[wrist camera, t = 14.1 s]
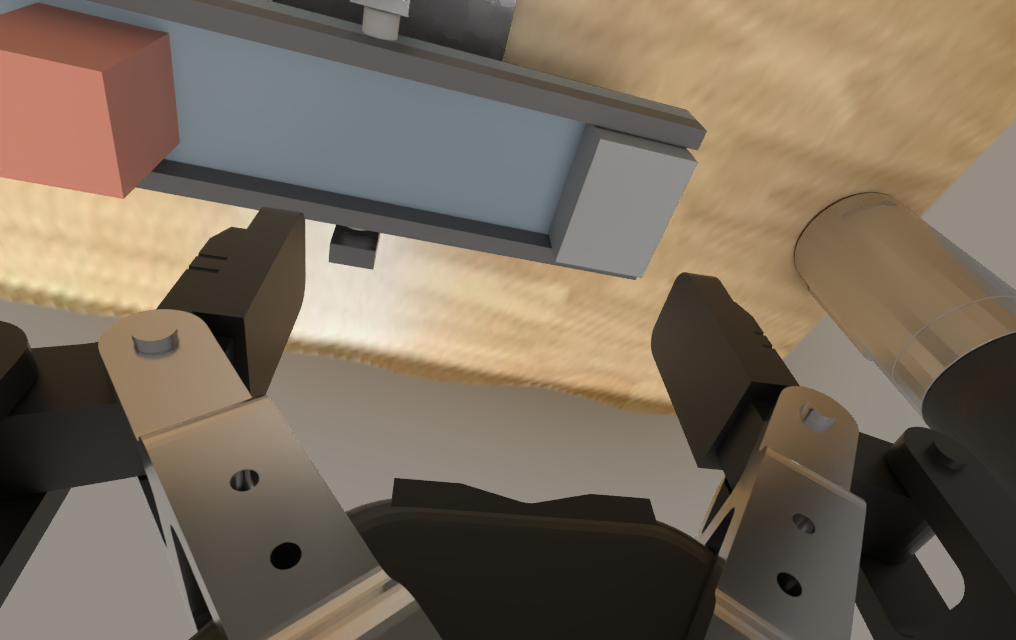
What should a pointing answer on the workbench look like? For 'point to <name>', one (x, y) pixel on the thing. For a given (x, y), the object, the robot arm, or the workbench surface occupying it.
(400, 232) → the balance beam
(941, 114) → the workbench surface
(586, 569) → the robot arm
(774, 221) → the workbench surface
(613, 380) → the workbench surface
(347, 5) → the pivot stand
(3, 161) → the block
